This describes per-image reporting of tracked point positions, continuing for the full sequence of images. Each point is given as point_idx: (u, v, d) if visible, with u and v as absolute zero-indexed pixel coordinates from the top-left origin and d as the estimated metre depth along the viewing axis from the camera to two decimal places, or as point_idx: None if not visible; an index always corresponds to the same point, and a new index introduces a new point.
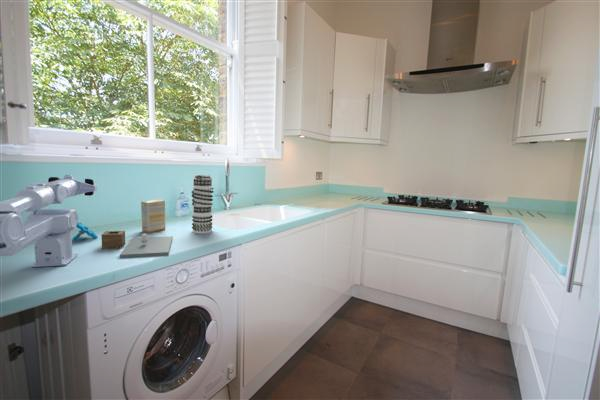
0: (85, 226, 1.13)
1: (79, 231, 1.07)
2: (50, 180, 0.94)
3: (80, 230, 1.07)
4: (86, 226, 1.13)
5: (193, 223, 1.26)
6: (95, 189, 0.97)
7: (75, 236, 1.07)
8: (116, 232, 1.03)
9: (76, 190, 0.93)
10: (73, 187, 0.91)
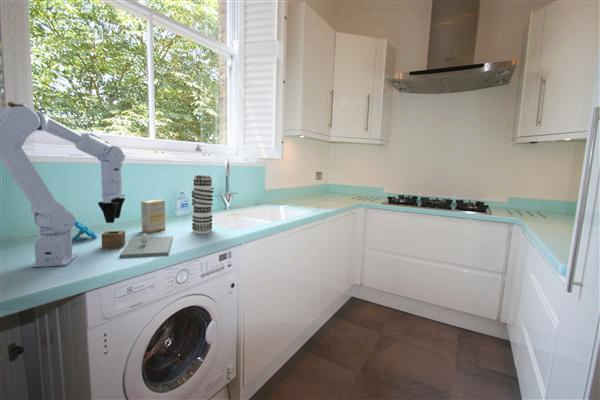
0: (85, 226, 1.13)
1: (79, 231, 1.07)
2: None
3: (80, 230, 1.07)
4: (86, 226, 1.13)
5: (193, 223, 1.26)
6: (104, 199, 0.93)
7: (75, 236, 1.07)
8: (116, 232, 1.03)
9: (107, 190, 0.97)
10: (111, 183, 0.97)
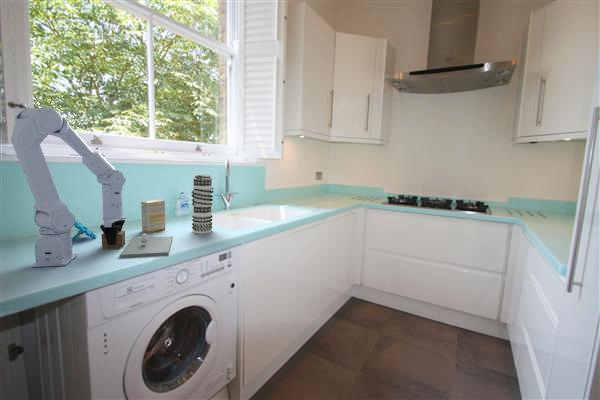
0: (85, 226, 1.13)
1: (78, 231, 1.07)
2: None
3: (79, 230, 1.07)
4: (85, 226, 1.13)
5: (193, 223, 1.26)
6: (105, 223, 0.94)
7: (74, 236, 1.07)
8: None
9: (108, 213, 0.98)
10: (112, 207, 0.98)
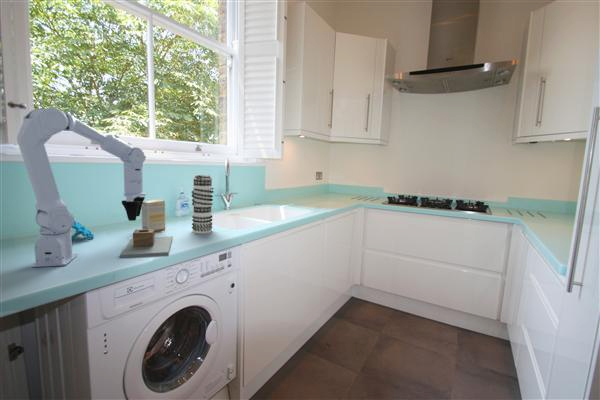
0: (84, 226, 1.13)
1: None
2: None
3: None
4: (85, 226, 1.13)
5: (193, 223, 1.26)
6: (128, 198, 0.98)
7: (71, 236, 1.07)
8: (146, 230, 1.04)
9: (130, 189, 1.02)
10: (133, 183, 1.02)
